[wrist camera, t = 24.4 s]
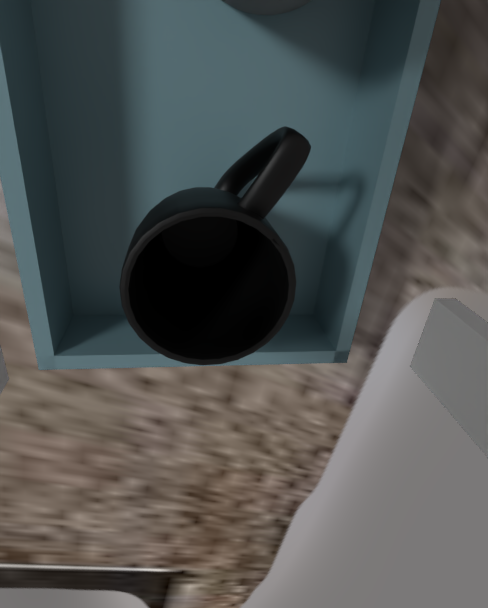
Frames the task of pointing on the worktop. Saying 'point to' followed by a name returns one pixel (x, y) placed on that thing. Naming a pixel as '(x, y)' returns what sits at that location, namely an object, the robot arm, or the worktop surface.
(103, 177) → the tote
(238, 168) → the mug
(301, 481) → the worktop surface
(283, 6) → the coffee mug
